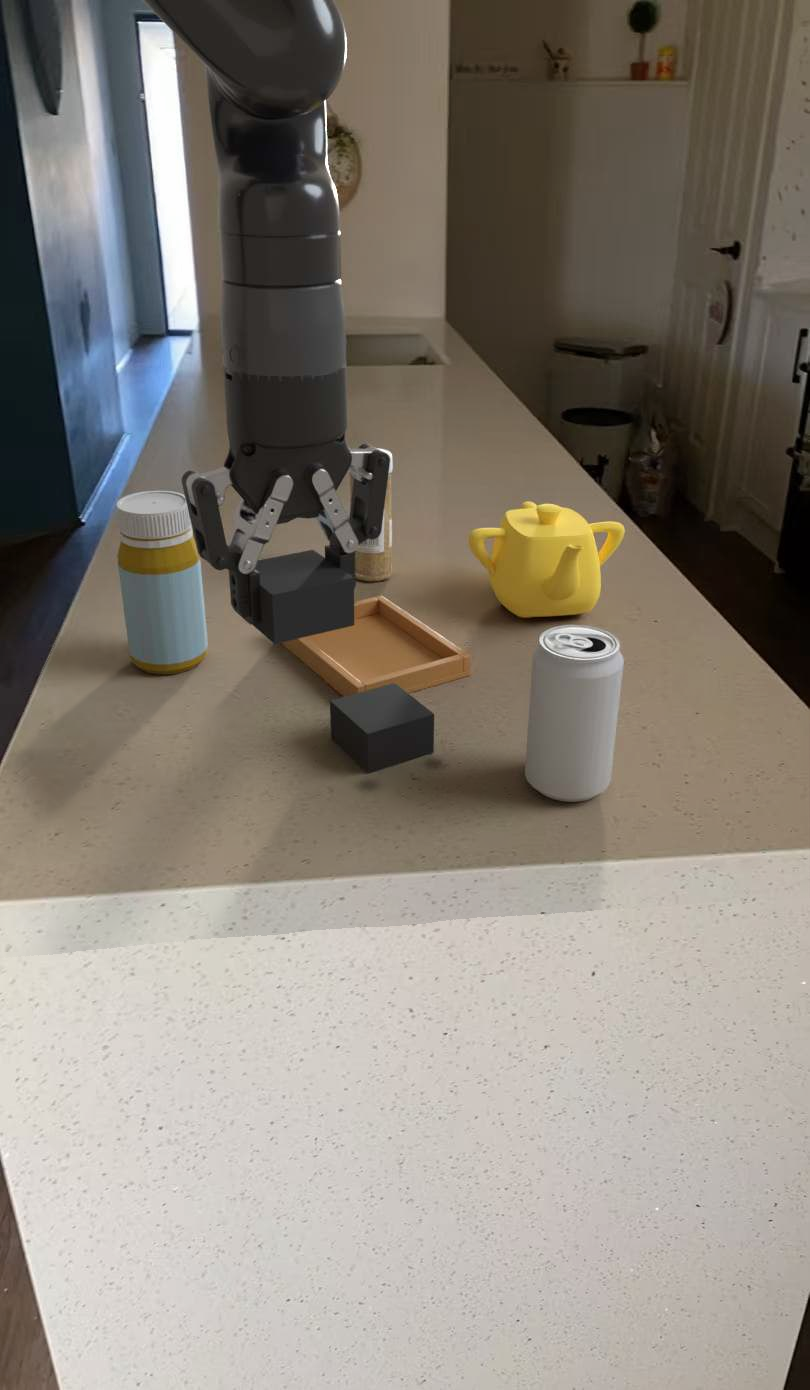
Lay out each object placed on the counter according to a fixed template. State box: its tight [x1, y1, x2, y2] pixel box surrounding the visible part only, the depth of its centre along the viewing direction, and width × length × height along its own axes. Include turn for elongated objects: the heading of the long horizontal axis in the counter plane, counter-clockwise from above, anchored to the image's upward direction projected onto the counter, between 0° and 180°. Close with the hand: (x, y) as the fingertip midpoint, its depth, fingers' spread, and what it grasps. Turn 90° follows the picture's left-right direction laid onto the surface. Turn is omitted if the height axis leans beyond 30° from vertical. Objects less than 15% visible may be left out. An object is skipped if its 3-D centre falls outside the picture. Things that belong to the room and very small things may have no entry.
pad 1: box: [252, 549, 355, 645], centre depth 74 cm, size 6×6×4 cm
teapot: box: [467, 501, 626, 619], centre depth 109 cm, size 14×13×10 cm
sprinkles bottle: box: [347, 447, 394, 582], centre depth 115 cm, size 5×5×13 cm
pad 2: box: [329, 683, 435, 774], centre depth 86 cm, size 6×6×4 cm
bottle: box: [115, 490, 209, 675], centre depth 96 cm, size 7×7×15 cm
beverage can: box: [524, 624, 625, 803], centre depth 79 cm, size 6×6×12 cm
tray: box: [280, 595, 472, 697], centre depth 100 cm, size 12×16×2 cm
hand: (294, 608), depth 74 cm, fingers closed on pad 1, 6 cm apart
